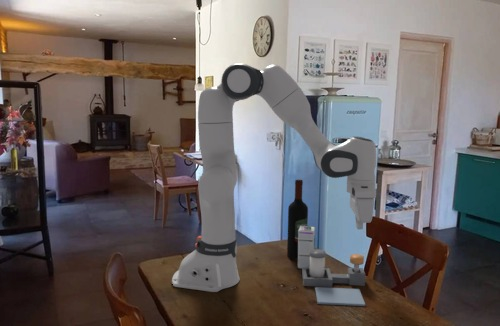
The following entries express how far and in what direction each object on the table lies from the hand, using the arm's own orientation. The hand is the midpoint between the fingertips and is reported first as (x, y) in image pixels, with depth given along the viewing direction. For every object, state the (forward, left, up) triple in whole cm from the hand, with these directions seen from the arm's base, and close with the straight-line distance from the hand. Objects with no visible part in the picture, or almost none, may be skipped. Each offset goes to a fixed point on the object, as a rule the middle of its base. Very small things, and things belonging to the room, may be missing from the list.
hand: (359, 228), depth 137 cm
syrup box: (-16, +12, -19) cm, 28 cm away
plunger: (0, 0, -16) cm, 16 cm away
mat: (-7, -12, -19) cm, 23 cm away
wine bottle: (-19, +22, -19) cm, 35 cm away
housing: (-8, 0, -19) cm, 20 cm away
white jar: (-13, 0, -19) cm, 23 cm away
